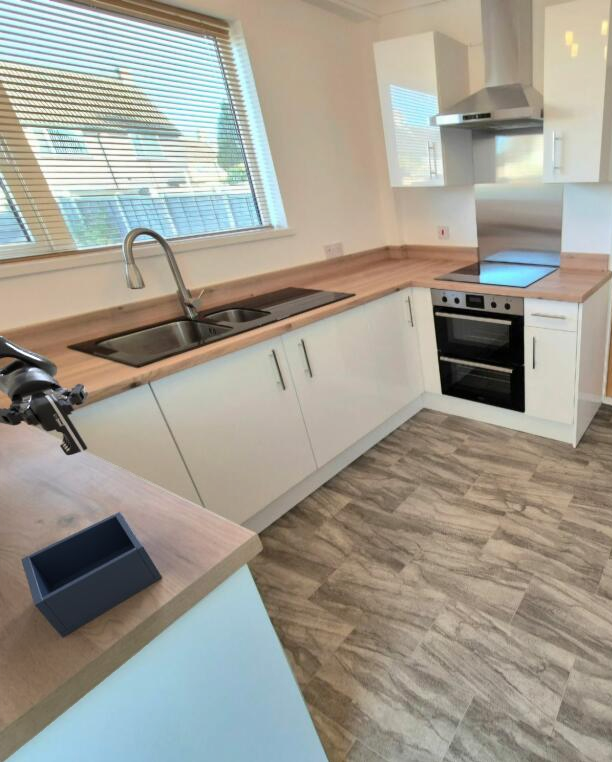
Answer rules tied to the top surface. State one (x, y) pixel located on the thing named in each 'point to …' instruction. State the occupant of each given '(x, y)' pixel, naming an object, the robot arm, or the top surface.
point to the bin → (88, 573)
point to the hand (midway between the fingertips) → (50, 415)
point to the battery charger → (57, 423)
